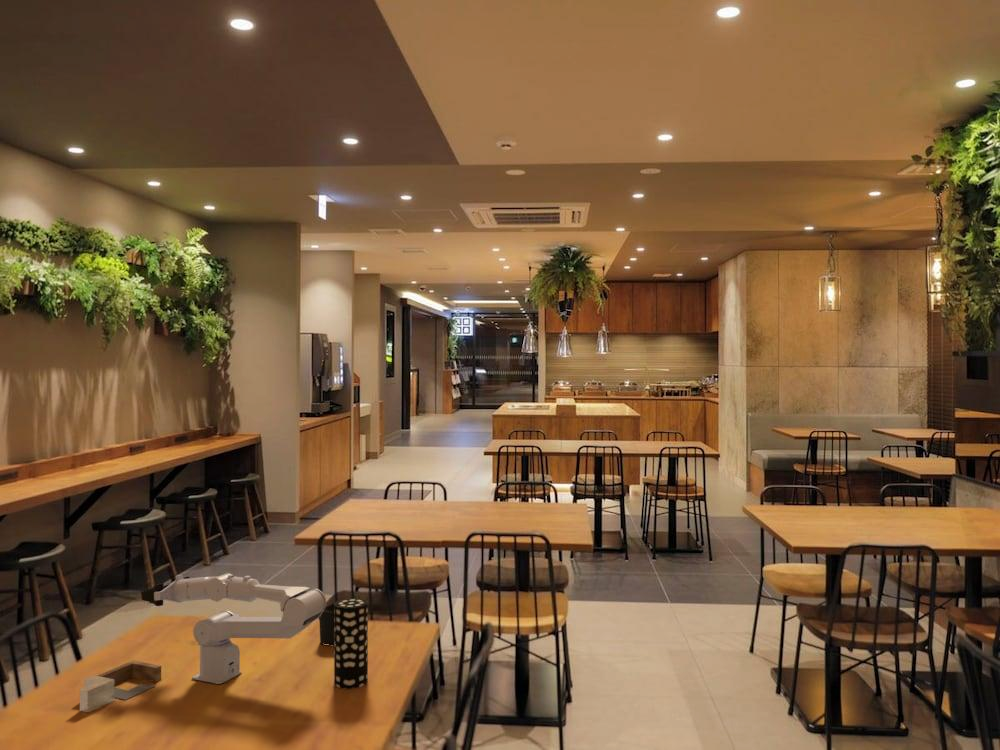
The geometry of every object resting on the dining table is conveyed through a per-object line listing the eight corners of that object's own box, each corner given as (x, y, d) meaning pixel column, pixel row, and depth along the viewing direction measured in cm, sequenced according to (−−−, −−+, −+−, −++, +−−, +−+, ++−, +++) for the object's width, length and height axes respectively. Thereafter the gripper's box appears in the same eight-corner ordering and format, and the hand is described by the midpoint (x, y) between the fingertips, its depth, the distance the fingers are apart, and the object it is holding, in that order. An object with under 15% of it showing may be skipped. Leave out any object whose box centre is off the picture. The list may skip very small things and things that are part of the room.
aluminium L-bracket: (114, 700, 170) (114, 679, 170) (87, 713, 164) (87, 691, 164) (93, 695, 173) (93, 675, 173) (66, 707, 166) (66, 686, 166)
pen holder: (352, 645, 206) (352, 610, 206) (318, 648, 204) (318, 613, 204) (351, 634, 215) (351, 601, 215) (319, 637, 213) (319, 603, 213)
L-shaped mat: (154, 686, 178) (154, 685, 178) (125, 700, 170) (125, 699, 170) (130, 681, 181) (130, 680, 181) (100, 694, 173) (100, 693, 173)
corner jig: (161, 679, 182) (161, 665, 182) (125, 696, 172) (125, 681, 172) (133, 673, 186) (133, 660, 186) (97, 689, 176) (97, 675, 176)
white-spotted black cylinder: (353, 672, 186) (353, 596, 187) (374, 681, 181) (374, 602, 181) (327, 683, 180) (327, 603, 180) (348, 692, 175) (348, 610, 175)
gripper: (212, 568, 194) (173, 572, 199) (172, 578, 181) (131, 582, 185) (214, 595, 193) (175, 598, 198) (174, 607, 180) (132, 610, 184)
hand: (153, 592), depth 191 cm, fingers open, 7 cm apart
